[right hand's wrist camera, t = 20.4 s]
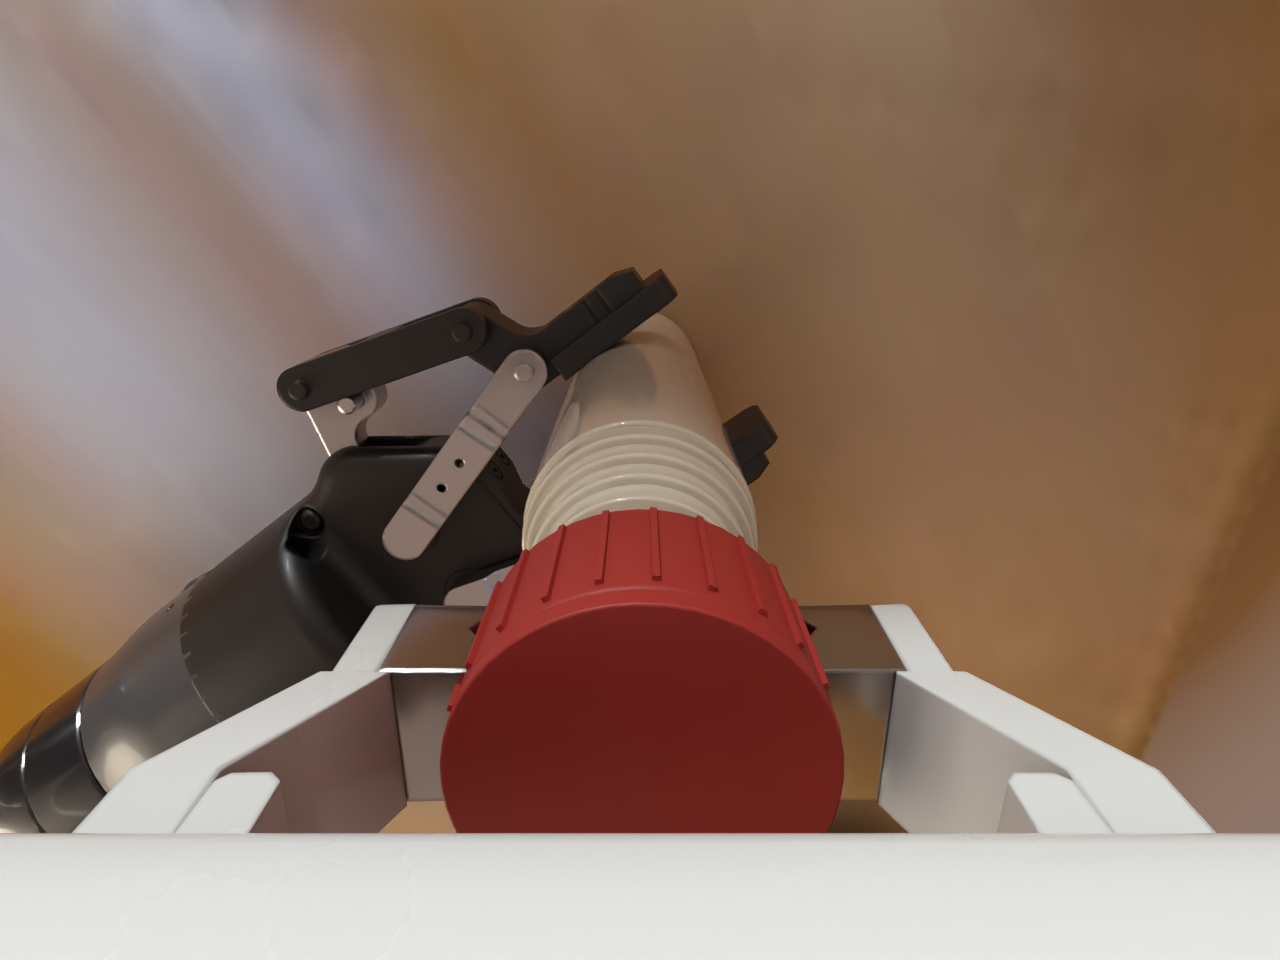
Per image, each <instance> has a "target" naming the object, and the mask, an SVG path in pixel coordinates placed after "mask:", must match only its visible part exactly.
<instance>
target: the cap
mask: <svg viewBox="0 0 1280 960" xmlns="http://www.w3.org/2000/svg"><path fill="white" fill-rule="evenodd" d="M464 668H466V669H467V670H466V672H465V675H464V678H463V680H462V683H461V684H458V683H456V685H455V688H454V690H453V693H452V696H451V698H450V701H449V703H448V707H447V711H449V712H450V715H449V717H448V720H447V724H446V728H445V731H444V735H443V739H442V744H441V754H440V779H441V787H442V792H443V796H444V801H445V805H446V809H447V811H448V814H449V816H450V819H451V821H452V824H453V827H454V828H455V830H456V832H457V833H827V832H828V830H829V828H830V826H831V824H832V822H833V820H834V818H835V815H836V811H837V808H838V805H839V802H840V799H841V794H842V788H843V781H844V750H843V744H842V738H841V732H840V726H839V723H838V721H837V718H836V715H835V713H834V710H833V708H832V705H831V704H830V701H829V699H828V696H827V694H826V691H825V690H827V689H830V688H831V687H830V684H829V682H828V679H827V677H826V674H825V672H824V669H823V667H822V664H821V662H820V659H819V657H818V654H817V652H816V649H815V647H814V644H813V642H812V639H811V637H810V634H809V632H808V629H807V626H806V624H805V621H804V619H803V616H802V614H801V611H800V609H799V606H798V604H797V601H796V599H795V598H794V599H790V597H789V595H788V593H787V591H786V590H785V588H784V586H783V584H782V581H781V578H780V576H779V573H778V571H777V568H776V566H775V565H774V564H773V563H772V564H771V565H769V564H768V563H767V562H766V561H765V560H764V559H763V558H762V557H761V556H760V555H759V554H758V553H757V552H756V551H755V550H754V549H752V548H751V547H750V546H749V545H747V544H746V542H745V538H744V537H742V536H741V535H738V537H736V536H735V535H733V534H731V533H730V532H728V531H726V530H724V529H723V528H721V527H718V526H716V525H714V524H711V523H709V522H707V521H705V520H704V518H703V517H701V516H698V515H697V517H696V518H695V517H692V516H688V515H685V514H681V513H675V512H669V511H663V510H657V507H650V510H646V509H634V510H622V511H613V512H610V511H609V510H605V511H602V514H599V515H594V516H591V517H588V518H585V519H582V520H580V521H577V522H574V523H572V524H570V525H568V526H565V524H562V525H560V526H558V530H557V531H555V532H554V533H552V534H551V535H549V536H548V537H546V538H545V539H543V540H542V541H540V542H539V543H537V544H536V545H535V546H534V547H532V548H531V549H530V550H529V551H528V550H527V549H524V550H523V551H522V552H521V555H520V558H519V561H518V562H517V563H516V564H515V565H514V566H513V568H512V569H511V570H510V571H509V572H508V574H507V575H506V577H505V579H504V580H503V582H500V581H497V583H496V584H495V587H494V589H493V592H492V594H491V597H490V600H489V602H488V605H487V607H486V610H485V612H484V615H483V618H482V620H481V623H480V625H479V628H478V631H477V633H476V636H475V638H474V641H473V644H472V646H471V649H470V651H469V654H468V657H467V659H466V662H465V664H464Z"/></svg>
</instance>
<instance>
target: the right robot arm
mask: <svg viewBox="0 0 1280 960" xmlns="http://www.w3.org/2000/svg"><path fill="white" fill-rule="evenodd" d="M486 607H487V606H459V605H416V604H394V605H379V606H376V607H375V608H374V609H373V610H372V612H371V613H370V615H369V616H368V618H367V619H366V621H365V623H364V624H363V626H362V627H361V629H360V630H359V632H358V633H357V635H356V636H355V638H354V639H353V641H352V642H351V644H350V645H349V647H348V648H347V650H346V651H345V653H344V654H343V656H342V657H341V659H340V660H339V662H338V663H337V665H336V666H335V668H334V669H333V671H320V672H318V673H316V674H314V675H312V676H310V677H308V678H306V679H304V680H303V681H301V682H299V683H297V684H295V685H293V686H291V687H289V688H287V689H285V690H283V691H281V692H279V693H277V694H275V695H273V696H271V697H269V698H267V699H265V700H264V701H262V702H260V703H258V704H256V705H254V706H252V707H250V708H248V709H246V710H244V711H242V712H240V713H238V714H236V715H234V716H232V717H230V718H228V719H226V720H225V721H223V722H221V723H219V724H217V725H215V726H213V727H211V728H209V729H207V730H205V731H203V732H201V733H199V734H197V735H195V736H193V737H191V738H189V739H187V740H186V741H184V742H182V743H180V744H178V745H176V746H174V747H172V748H170V749H168V750H166V751H164V752H162V753H160V754H158V755H156V756H154V757H152V758H150V759H148V760H147V761H145V762H143V763H141V764H139V765H137V766H135V767H133V768H131V769H129V770H128V771H127V773H126V774H125V775H124V776H123V777H122V778H121V779H120V780H119V781H118V782H117V784H116V785H115V786H114V787H113V788H112V789H111V790H110V791H109V792H108V793H107V795H106V796H105V797H104V798H103V799H102V800H101V801H100V802H99V803H98V805H97V806H96V807H95V808H94V809H93V810H92V811H91V812H90V813H89V814H88V816H87V817H86V818H85V819H84V820H83V821H82V822H81V823H80V824H79V826H78V827H77V828H76V829H75V830H74V831H73V832H72V833H0V960H1280V833H1216V832H1215V831H1214V830H1213V829H1212V827H1211V826H1210V825H1209V824H1208V823H1207V822H1206V821H1205V820H1204V819H1203V818H1202V817H1201V815H1200V814H1199V813H1198V812H1197V811H1196V810H1195V809H1194V808H1193V807H1192V806H1191V804H1190V803H1189V802H1188V801H1187V800H1186V799H1185V798H1184V797H1183V796H1182V795H1181V794H1180V792H1179V791H1178V790H1177V789H1176V788H1175V787H1174V786H1173V785H1172V784H1171V783H1170V781H1169V780H1168V779H1167V778H1166V777H1165V776H1164V775H1163V774H1162V773H1161V772H1160V771H1159V770H1158V769H1156V768H1154V767H1152V766H1150V765H1148V764H1146V763H1144V762H1142V761H1140V760H1138V759H1136V758H1134V757H1132V756H1130V755H1128V754H1126V753H1124V752H1122V751H1121V750H1119V749H1117V748H1115V747H1113V746H1111V745H1109V744H1107V743H1105V742H1103V741H1101V740H1099V739H1097V738H1095V737H1093V736H1091V735H1089V734H1087V733H1085V732H1083V731H1081V730H1079V729H1077V728H1075V727H1074V726H1072V725H1070V724H1068V723H1066V722H1064V721H1062V720H1060V719H1058V718H1056V717H1054V716H1052V715H1050V714H1048V713H1046V712H1044V711H1042V710H1040V709H1038V708H1036V707H1034V706H1032V705H1030V704H1028V703H1027V702H1025V701H1023V700H1021V699H1019V698H1017V697H1015V696H1013V695H1011V694H1009V693H1007V692H1005V691H1003V690H1001V689H999V688H997V687H995V686H993V685H991V684H989V683H987V682H985V681H983V680H982V679H980V678H978V677H976V676H974V675H972V674H970V673H968V672H966V671H953V670H952V668H951V667H950V665H949V664H948V662H947V661H946V659H945V658H944V656H943V655H942V653H941V652H940V651H939V649H938V648H937V646H936V645H935V643H934V642H933V640H932V639H931V637H930V636H929V635H928V633H927V632H926V630H925V629H924V627H923V626H922V624H921V623H920V621H919V620H918V618H917V617H916V616H915V614H914V613H913V611H912V610H911V608H910V607H909V606H907V605H905V604H887V605H836V606H799V609H800V611H801V614H802V616H803V619H804V621H805V624H806V626H807V629H808V632H809V634H810V637H811V639H812V642H813V644H814V647H815V649H816V652H817V654H818V657H819V659H820V662H821V664H822V667H823V669H824V672H825V674H826V677H827V679H828V682H829V684H830V687H831V688H830V689H827V690H825V691H826V694H827V696H828V699H829V701H830V704H831V705H832V708H833V710H834V713H835V715H836V718H837V721H838V723H839V726H840V732H841V738H842V744H843V750H844V781H843V788H842V794H841V799H840V801H876V802H879V803H878V805H879V806H880V807H881V808H882V809H883V810H884V811H886V812H887V813H888V814H889V815H890V816H891V817H892V818H893V819H894V820H895V821H896V822H897V823H898V824H899V825H900V826H902V827H903V828H904V829H905V830H906V831H907V832H908V833H378V832H379V831H380V830H381V829H382V828H383V827H385V826H386V825H387V824H388V823H389V822H390V821H391V820H392V819H393V818H394V817H395V816H396V815H397V814H398V813H399V812H400V811H402V810H403V809H404V808H405V807H406V806H407V802H409V801H444V796H443V792H442V787H441V779H440V754H441V744H442V739H443V735H444V731H445V728H446V724H447V720H448V717H449V715H450V712H449V711H447V707H448V703H449V701H450V698H451V696H452V693H453V690H454V688H455V685H456V683H458V684H461V683H462V680H463V678H464V675H465V672H466V670H467V669H466V668H464V664H465V662H466V659H467V657H468V654H469V651H470V649H471V646H472V644H473V641H474V638H475V636H476V633H477V631H478V628H479V625H480V623H481V620H482V618H483V615H484V612H485V610H486Z"/></svg>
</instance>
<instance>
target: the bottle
mask: <svg viewBox="0 0 1280 960" xmlns="http://www.w3.org/2000/svg"><path fill="white" fill-rule="evenodd" d="M650 507H657V510H663V511H669V512H675V513H681V514H685V515H688V516H692V517H695V518H696V517H697V515H698V516H701V517H703V518H704V520H705V521H707V522H709V523H711V524H714V525H716V526H718V527H721V528H723V529H724V530H726V531H728V532H730V533H731V534H733V535H735V536H736V537H738V535H741V536H742V537H744V538H745V542H746V544H747V545H749V546H750V547H751V548H752V549H754V550H755V551H756V552H757V553H758V530H757V520H756V512H755V506H754V502H753V499H752V495H751V492H750V490H749V487H748V485H747V482H746V480H745V477H744V475H743V472H742V470H741V467H740V465H739V462H738V460H737V457H736V454H735V452H734V449H733V447H732V444H731V442H730V439H729V437H728V434H727V432H726V429H725V427H724V424H723V422H722V419H721V417H720V414H719V412H718V409H717V407H716V404H715V402H714V399H713V397H712V394H711V392H710V389H709V387H708V384H707V382H706V379H705V377H704V374H703V372H702V369H701V367H700V364H699V362H698V359H697V356H696V354H695V351H694V349H693V347H692V344H691V342H690V340H689V339H688V337H687V335H686V334H685V333H684V331H683V330H682V329H681V328H680V327H679V326H678V325H677V324H676V323H674V322H673V321H672V320H670V319H669V318H667V317H665V316H663V315H661V314H658V313H656V314H654V315H653V316H652V317H650V318H649V319H648V320H646V321H645V322H644V323H642V324H641V325H640V326H638V327H637V328H636V329H634V330H633V331H632V332H630V333H629V334H627V335H626V336H625V337H623V338H622V339H621V340H619V341H618V342H617V343H615V344H614V345H613V346H611V347H610V348H609V349H607V350H606V351H605V352H603V353H602V354H601V355H599V356H597V357H596V358H594V359H593V360H591V361H590V362H589V363H588V364H587V365H585V366H584V367H583V368H582V369H581V370H579V371H578V372H577V373H575V374H574V376H573V378H572V381H571V384H570V386H569V389H568V391H567V394H566V397H565V399H564V402H563V405H562V407H561V410H560V413H559V415H558V418H557V421H556V423H555V426H554V428H553V431H552V434H551V436H550V439H549V442H548V444H547V447H546V450H545V452H544V455H543V458H542V460H541V463H540V465H539V468H538V471H537V473H536V476H535V479H534V481H533V484H532V487H531V489H530V492H529V495H528V498H527V501H526V506H525V511H524V516H523V529H522V551H523V550H524V549H527V550H528V551H529V550H530V549H531V548H532V547H534V546H535V545H536V544H537V543H539V542H540V541H542V540H543V539H545V538H546V537H548V536H549V535H551V534H552V533H554V532H555V531H557V530H558V526H560V525H562V524H565V526H568V525H570V524H572V523H574V522H577V521H580V520H582V519H585V518H588V517H591V516H594V515H599V514H602V511H605V510H609V511H610V512H613V511H622V510H634V509H646V510H650Z"/></svg>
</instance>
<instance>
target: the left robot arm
mask: <svg viewBox="0 0 1280 960" xmlns="http://www.w3.org/2000/svg"><path fill="white" fill-rule="evenodd" d="M677 295H678V293H677V291H676V288H675V287H674V286H673V284H672V283H671V281H670V280H669V279H668V277H667V276H666V274H665V273H664V271H663V270H662V269H660V270H658V271H656V272H655V273H653V274H652V275H651V276H649V277H648V278H647V279H645V280H644V281H643V280H642V278H641V277H640V275H639V274H638V273H637V271H636V270H635V268H634V267H631V268H627V269H624V270H620V271H616V272H614V273H613V274H611V275H610V276H609V277H607V278H606V279H605V280H604V281H602V282H601V283H600V284H598V285H597V286H596V287H594V288H593V289H592V290H591V291H589V292H588V293H587V294H585V295H584V296H583V297H581V298H580V299H579V300H578V301H576V302H575V303H574V304H572V305H571V306H570V307H569V308H567V309H566V310H565V311H563V312H562V313H561V314H559V315H558V316H557V317H556V318H554V319H553V320H552V321H550V322H549V323H547V324H546V325H544V326H541V327H537V328H529V327H524V326H522V325H520V324H518V323H516V322H515V321H513V320H512V319H510V318H508V317H507V316H505V315H504V314H502V313H501V312H500V310H499V308H498V307H497V305H496V304H495V303H494V302H492V301H491V300H489V299H486V298H481V297H479V298H473V299H470V300H468V301H465V302H462V303H459V304H457V305H454V306H451V307H448V308H445V309H443V310H440V311H437V312H434V313H432V314H429V315H426V316H423V317H420V318H418V319H415V320H412V321H409V322H407V323H404V324H401V325H398V326H396V327H393V328H390V329H387V330H384V331H382V332H379V333H376V334H373V335H371V336H368V337H365V338H362V339H359V340H357V341H354V342H351V343H348V344H346V345H343V346H340V347H337V348H334V349H332V350H329V351H326V352H324V353H322V354H319V355H317V356H315V357H313V358H311V359H308V360H306V361H304V362H302V363H300V364H298V365H296V366H294V367H292V368H290V369H287V370H285V371H284V372H283V373H282V374H281V375H280V376H279V378H278V381H277V392H278V395H279V397H280V399H281V400H282V402H283V403H284V404H285V405H286V406H288V407H289V408H291V409H293V410H295V411H300V412H305V411H307V413H308V415H309V417H310V419H311V421H312V423H313V425H314V427H315V429H316V431H317V433H318V435H319V437H320V439H321V441H322V443H323V445H324V446H325V448H326V450H327V452H328V454H329V456H330V457H329V458H328V459H327V460H326V461H325V463H324V464H323V466H322V468H321V470H320V473H319V477H318V480H317V483H316V485H315V487H314V489H313V490H312V492H311V493H310V494H309V495H307V496H306V497H305V498H304V499H302V500H301V501H300V502H298V503H297V504H296V505H294V506H293V507H292V508H291V509H289V510H288V511H287V512H285V513H284V514H283V515H282V516H280V517H279V518H278V519H276V520H275V521H274V522H273V523H271V524H270V525H269V526H267V527H266V528H265V529H264V530H262V531H261V532H260V533H258V534H257V535H256V536H254V537H253V538H252V539H251V540H249V541H248V542H247V543H245V544H244V545H243V546H242V547H240V548H239V549H238V550H236V551H235V552H234V553H233V554H231V555H230V556H229V557H227V558H226V559H225V560H224V561H222V562H221V563H220V564H218V565H217V566H216V567H215V568H214V569H212V570H211V571H209V572H207V573H205V574H203V575H201V576H199V577H198V578H196V579H195V580H193V581H191V582H190V583H189V584H187V585H186V586H185V587H184V589H183V590H182V592H181V594H180V595H178V596H177V597H176V598H175V599H173V600H172V601H171V602H169V603H168V604H167V605H166V606H164V607H163V608H161V609H160V610H159V611H158V612H157V613H155V614H154V615H153V616H152V617H151V618H150V619H148V620H147V621H146V622H145V623H144V624H143V625H142V626H141V627H140V628H139V629H138V630H137V631H136V632H135V633H134V634H133V635H132V636H131V637H130V638H129V639H128V640H127V641H126V643H125V644H124V645H123V646H122V647H121V648H120V649H119V650H118V651H117V652H116V653H115V655H113V656H112V657H111V658H110V659H109V660H107V661H106V662H105V663H104V664H102V665H101V666H100V667H98V668H97V669H96V670H94V671H93V672H92V673H91V674H89V675H88V676H87V677H85V678H84V679H83V680H82V681H80V682H79V683H78V684H76V685H75V686H74V687H72V688H71V689H70V690H69V691H67V692H66V693H65V694H63V695H62V696H61V697H60V698H58V699H57V700H56V701H55V702H53V703H52V704H51V705H49V706H48V707H47V708H45V709H44V710H43V711H41V712H40V713H39V714H38V715H36V716H35V717H34V718H33V719H32V720H30V721H29V722H28V723H27V724H26V725H25V726H24V727H23V728H21V729H20V730H19V731H18V732H17V733H16V735H15V736H14V737H13V738H12V739H11V740H10V741H9V742H8V743H7V744H6V745H5V747H4V748H3V749H2V751H1V752H0V833H72V832H73V831H74V830H75V829H76V828H77V827H78V826H79V824H80V823H81V822H82V821H83V820H84V819H85V818H86V817H87V816H88V814H89V813H90V812H91V811H92V810H93V809H94V808H95V807H96V806H97V805H98V803H99V802H100V801H101V800H102V799H103V798H104V797H105V796H106V795H107V793H108V792H109V791H110V790H111V789H112V788H113V787H114V786H115V785H116V784H117V782H118V781H119V780H120V779H121V778H122V777H123V776H124V775H125V774H126V773H127V771H128V770H129V769H131V768H133V767H135V766H137V765H139V764H141V763H143V762H145V761H147V760H148V759H150V758H152V757H154V756H156V755H158V754H160V753H162V752H164V751H166V750H168V749H170V748H172V747H174V746H176V745H178V744H180V743H182V742H184V741H186V740H187V739H189V738H191V737H193V736H195V735H197V734H199V733H201V732H203V731H205V730H207V729H209V728H211V727H213V726H215V725H217V724H219V723H221V722H223V721H225V720H226V719H228V718H230V717H232V716H234V715H236V714H238V713H240V712H242V711H244V710H246V709H248V708H250V707H252V706H254V705H256V704H258V703H260V702H262V701H264V700H265V699H267V698H269V697H271V696H273V695H275V694H277V693H279V692H281V691H283V690H285V689H287V688H289V687H291V686H293V685H295V684H297V683H299V682H301V681H303V680H304V679H306V678H308V677H310V676H312V675H314V674H316V673H318V672H320V671H333V669H334V668H335V666H336V665H337V663H338V662H339V660H340V659H341V657H342V656H343V654H344V653H345V651H346V650H347V648H348V647H349V645H350V644H351V642H352V641H353V639H354V638H355V636H356V635H357V633H358V632H359V630H360V629H361V627H362V626H363V624H364V623H365V621H366V619H367V618H368V616H369V615H370V613H371V612H372V610H373V609H374V608H375V607H376V606H379V605H394V604H416V605H459V606H487V605H488V602H489V600H490V597H491V594H492V592H493V589H494V587H495V584H496V583H497V581H500V582H503V580H504V579H505V577H506V575H507V574H508V572H509V571H510V570H511V569H512V568H513V566H514V565H515V564H516V563H517V562H518V561H519V558H520V555H521V552H522V529H523V516H524V511H525V506H526V501H527V498H528V495H529V492H530V489H528V488H527V487H526V486H524V484H523V483H522V481H521V479H520V477H519V475H518V473H517V471H516V468H515V466H514V464H513V462H512V461H511V459H510V458H509V457H508V456H507V455H506V454H505V452H504V451H503V450H502V449H501V448H500V445H501V444H502V442H503V441H504V439H505V438H506V436H507V435H508V433H509V432H510V430H511V429H512V428H513V426H514V425H515V424H516V422H517V421H518V419H519V418H520V417H521V415H522V414H523V413H524V411H525V410H526V409H527V407H528V406H529V404H530V403H531V402H532V400H533V399H534V398H535V396H536V395H537V393H538V392H539V391H540V389H541V388H542V387H544V386H545V385H547V384H548V383H549V382H551V381H552V380H553V379H555V378H556V377H557V376H559V375H560V374H561V375H562V376H563V378H564V379H565V380H567V379H569V378H570V377H571V376H573V375H574V374H575V373H577V372H578V371H579V370H581V369H582V368H583V367H584V366H585V365H587V364H588V363H589V362H590V361H591V360H593V359H594V358H596V357H597V356H599V355H601V354H602V353H603V352H605V351H606V350H607V349H609V348H610V347H611V346H613V345H614V344H615V343H617V342H618V341H619V340H621V339H622V338H623V337H625V336H626V335H627V334H629V333H630V332H632V331H633V330H634V329H636V328H637V327H638V326H640V325H641V324H642V323H644V322H645V321H646V320H648V319H649V318H650V317H652V316H653V315H654V314H656V313H657V312H658V311H660V310H661V309H662V308H664V307H665V306H666V305H667V304H669V303H670V302H671V301H672V300H673V299H674V298H675V297H676V296H677ZM464 356H468V357H470V358H471V359H473V360H474V361H476V362H478V363H479V364H481V365H482V366H484V367H486V368H487V369H489V370H490V371H492V372H494V373H495V374H494V376H493V377H492V379H491V380H490V382H489V383H488V384H487V386H486V387H485V389H484V390H483V391H482V393H481V394H480V396H479V397H478V399H477V400H476V401H475V403H474V404H473V406H472V407H471V408H470V410H469V411H468V412H467V414H466V415H465V416H464V418H463V419H462V421H461V422H460V423H459V425H458V426H457V428H456V429H455V430H454V432H453V433H452V435H435V436H368V435H367V432H366V422H367V419H368V417H370V416H371V415H372V414H373V413H375V412H376V411H377V410H379V409H380V408H381V407H382V406H383V405H384V404H385V402H386V399H387V388H386V386H385V384H387V383H390V382H392V381H395V380H398V379H401V378H404V377H407V376H410V375H412V374H415V373H418V372H421V371H424V370H427V369H429V368H432V367H435V366H438V365H441V364H444V363H447V362H449V361H452V360H455V359H458V358H461V357H464ZM724 427H725V429H726V432H727V434H728V437H729V439H730V442H731V444H732V447H733V449H734V452H735V454H736V457H737V460H738V462H739V465H740V467H741V470H742V472H743V475H744V477H745V480H746V482H747V485H749V484H750V483H752V482H753V481H755V480H756V479H758V478H759V477H760V475H761V474H762V473H763V471H764V470H765V468H766V467H767V466H768V464H769V461H768V459H767V456H766V454H765V451H766V450H768V449H769V448H770V447H771V446H772V445H773V444H774V443H775V442H776V440H777V435H776V433H775V431H774V430H773V428H772V426H771V424H770V423H769V421H768V420H767V419H766V417H765V416H764V414H763V413H762V411H761V410H760V409H759V407H758V406H757V405H754V406H751V407H749V408H747V409H745V410H743V411H742V412H740V413H739V414H737V415H736V416H735V417H733V418H732V419H730V420H729V421H727V422H726V423H724Z"/></svg>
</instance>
